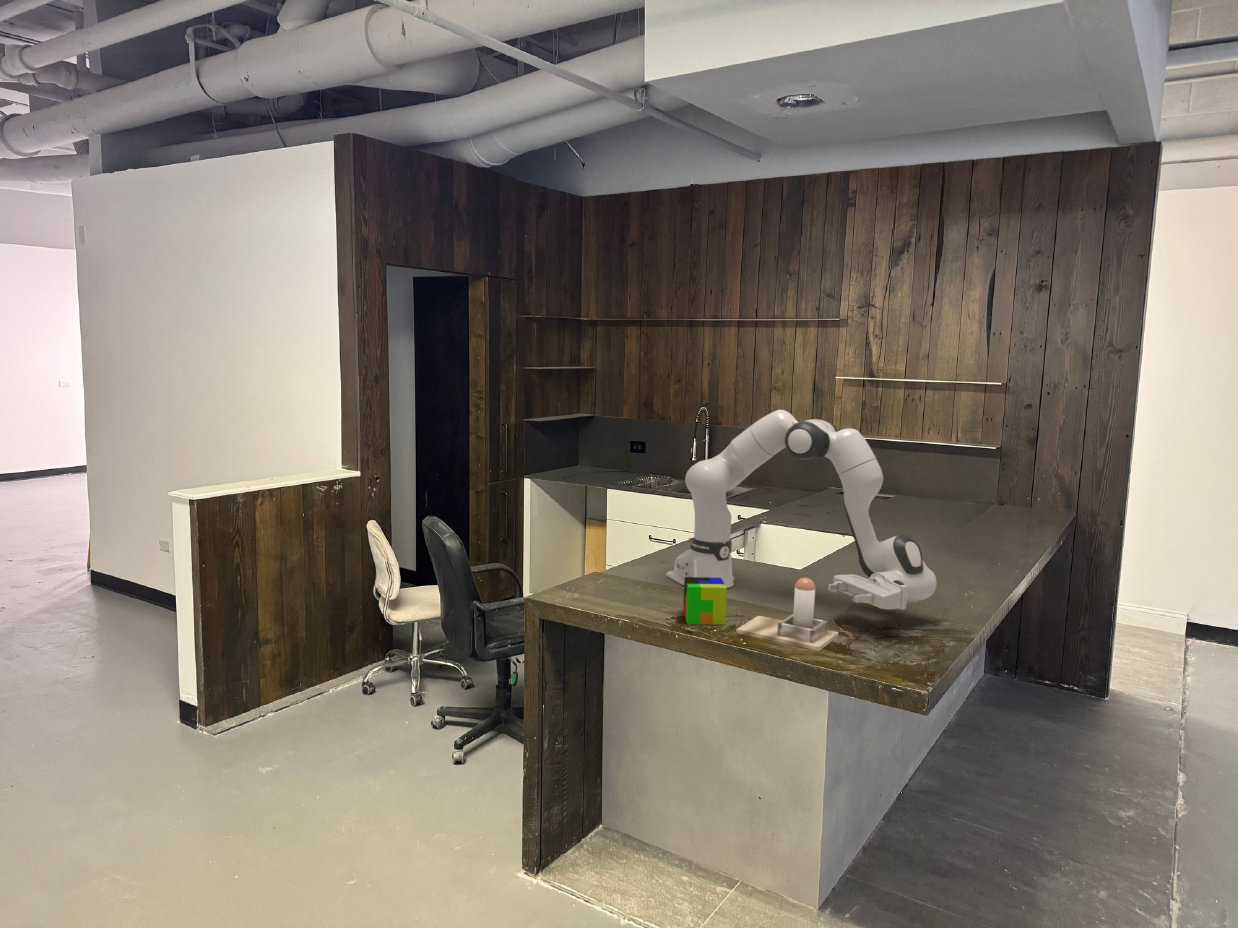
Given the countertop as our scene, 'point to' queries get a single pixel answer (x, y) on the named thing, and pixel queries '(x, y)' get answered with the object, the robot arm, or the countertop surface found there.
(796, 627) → the jig cradle
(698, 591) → the puzzle toy
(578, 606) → the countertop surface
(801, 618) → the dome-capped white cylinder
